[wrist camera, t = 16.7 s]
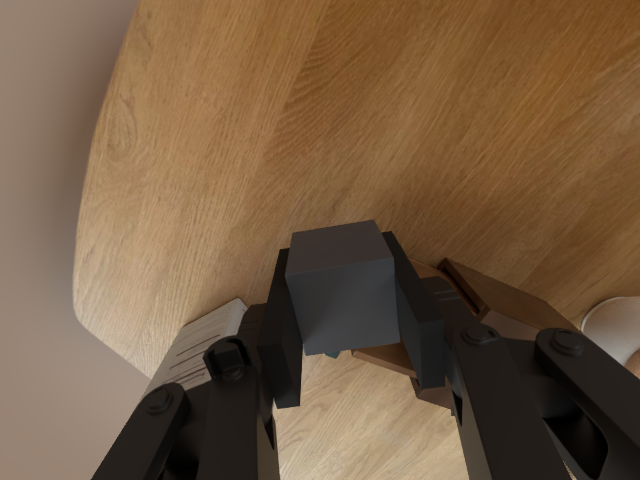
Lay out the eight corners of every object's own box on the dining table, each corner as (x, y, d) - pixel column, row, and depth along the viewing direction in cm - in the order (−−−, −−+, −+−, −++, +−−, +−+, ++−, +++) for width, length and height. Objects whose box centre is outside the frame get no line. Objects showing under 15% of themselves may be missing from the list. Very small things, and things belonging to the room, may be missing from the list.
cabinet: (393, 331, 38) (416, 398, 29) (445, 257, 34) (490, 309, 25) (486, 365, 41) (532, 436, 32) (544, 301, 37) (617, 362, 28)
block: (307, 300, 16) (305, 356, 13) (292, 232, 15) (284, 274, 11) (381, 288, 16) (400, 343, 12) (373, 219, 14) (394, 257, 11)
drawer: (283, 290, 34) (275, 338, 27) (322, 211, 31) (324, 243, 24) (420, 341, 38) (444, 395, 31) (469, 275, 34) (510, 320, 27)
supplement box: (178, 327, 37) (84, 482, 22) (238, 294, 36) (180, 438, 20) (227, 375, 41) (174, 538, 25) (283, 347, 39) (264, 504, 24)
